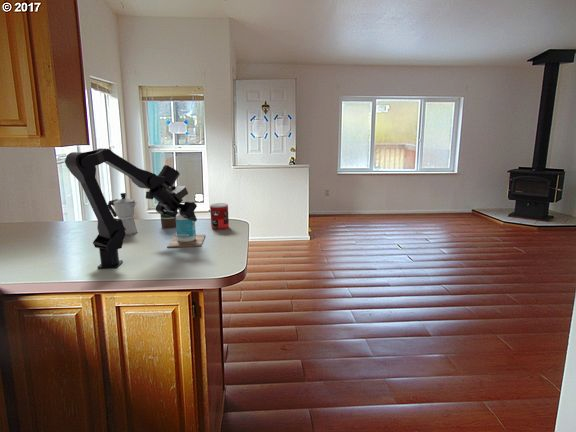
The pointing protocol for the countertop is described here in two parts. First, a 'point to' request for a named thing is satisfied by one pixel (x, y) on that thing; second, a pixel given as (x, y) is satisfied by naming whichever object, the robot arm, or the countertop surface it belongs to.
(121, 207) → the coffee maker
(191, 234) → the pill bottle
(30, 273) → the countertop surface
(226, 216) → the canned food
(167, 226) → the beer bottle
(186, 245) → the walnut board
